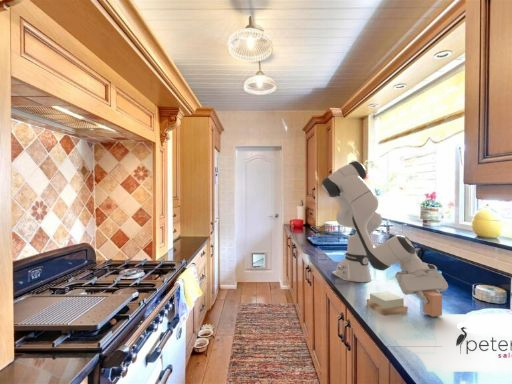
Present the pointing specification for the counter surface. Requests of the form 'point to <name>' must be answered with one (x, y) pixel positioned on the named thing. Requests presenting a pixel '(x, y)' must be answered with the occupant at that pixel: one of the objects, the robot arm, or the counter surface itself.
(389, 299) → the tower top
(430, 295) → the tall block
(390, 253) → the robot arm
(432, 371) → the counter surface
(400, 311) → the tower base
